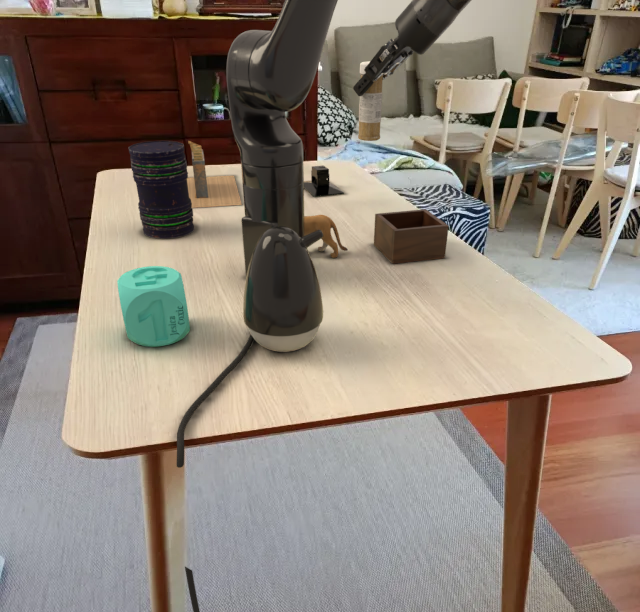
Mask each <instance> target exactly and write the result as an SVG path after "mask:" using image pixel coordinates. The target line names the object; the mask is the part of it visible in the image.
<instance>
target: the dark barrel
mask: <svg viewBox="0 0 640 612" xmlns="http://www.w3.org/2000/svg"><path fill="white" fill-rule="evenodd" d="M128 153H129V155H130V156H129V159H130V166H131V167H130V168H131V172H132V178H133V181H134V183H135V185H136V191H137V198H138V203H137V205H138V211H139V213H138V214H139V219H140V221H141V225H142V232H143V235H144V236H145V237H148V238H150V239H157V240H171V239H177V238H182V237H185V236H188V235H191V234H192V233H193V232H194V231H195V225H194V210H193V209H194V208H192V203H191V199H190V198H189V192H188V184H187V178H189V175H188V174H189V172H188V163H187V159H186V153H185V145H184V143H182V142H179V141H175V140H174V141H173V140H150V141H142V142H138V143H134V144H131V145H130V146H128Z"/></svg>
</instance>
